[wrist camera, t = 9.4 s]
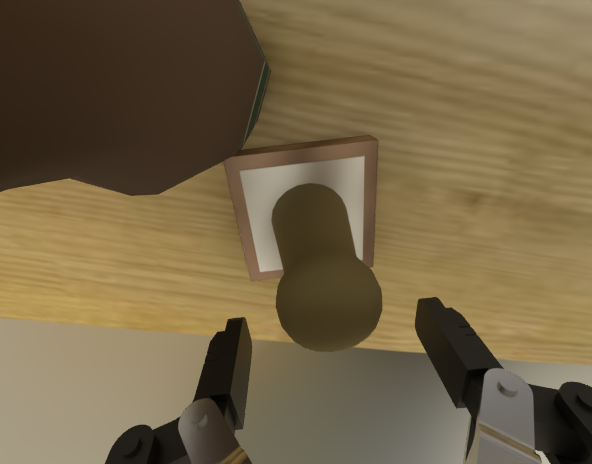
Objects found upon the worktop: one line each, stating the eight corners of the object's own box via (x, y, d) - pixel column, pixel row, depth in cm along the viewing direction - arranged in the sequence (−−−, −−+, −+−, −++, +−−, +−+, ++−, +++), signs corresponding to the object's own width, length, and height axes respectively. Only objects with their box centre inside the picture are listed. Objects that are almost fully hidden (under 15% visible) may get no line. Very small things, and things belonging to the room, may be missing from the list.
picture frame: (370, 135, 21) (378, 140, 19) (366, 254, 26) (373, 268, 25) (227, 151, 21) (222, 158, 19) (252, 268, 26) (250, 282, 25)
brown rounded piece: (256, 229, 22) (240, 343, 12) (300, 167, 20) (322, 247, 10) (316, 263, 24) (343, 385, 14) (362, 210, 22) (430, 311, 12)
